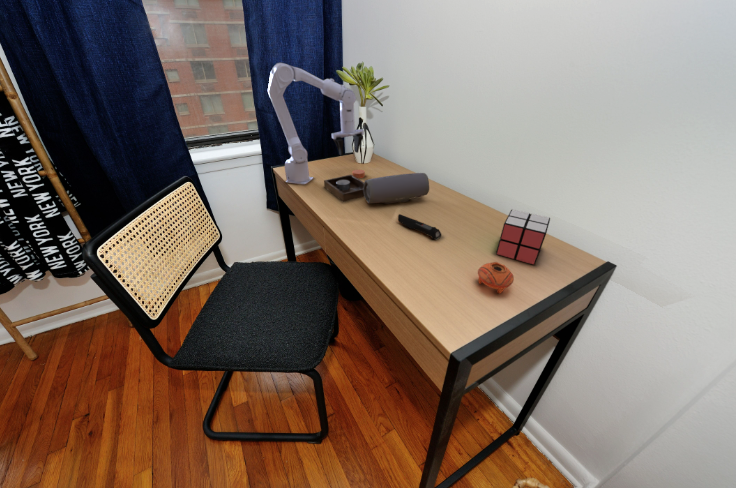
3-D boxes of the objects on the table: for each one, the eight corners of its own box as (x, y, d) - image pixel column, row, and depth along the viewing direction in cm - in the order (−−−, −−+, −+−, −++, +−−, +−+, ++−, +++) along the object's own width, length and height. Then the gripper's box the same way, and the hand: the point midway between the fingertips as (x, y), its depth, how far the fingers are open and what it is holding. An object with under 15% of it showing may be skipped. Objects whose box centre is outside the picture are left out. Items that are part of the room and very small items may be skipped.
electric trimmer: (402, 220, 103) (402, 211, 101) (441, 236, 94) (443, 227, 92) (395, 224, 101) (395, 215, 99) (434, 241, 92) (435, 232, 90)
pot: (482, 269, 79) (494, 250, 75) (509, 289, 76) (523, 270, 71) (466, 282, 74) (477, 263, 70) (494, 304, 71) (508, 285, 66)
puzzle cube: (534, 266, 81) (546, 233, 76) (495, 254, 85) (503, 223, 80) (539, 248, 88) (550, 217, 83) (503, 238, 93) (511, 208, 87)
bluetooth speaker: (417, 192, 122) (419, 168, 116) (428, 202, 114) (431, 176, 109) (363, 200, 116) (362, 174, 111) (370, 210, 109) (370, 184, 103)
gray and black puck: (334, 189, 124) (334, 183, 123) (339, 184, 128) (339, 179, 127) (347, 191, 123) (346, 185, 121) (352, 186, 127) (351, 180, 126)
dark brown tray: (324, 188, 126) (323, 180, 125) (351, 182, 132) (351, 174, 130) (343, 202, 114) (342, 194, 113) (372, 195, 120) (372, 187, 118)
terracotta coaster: (350, 178, 136) (350, 172, 134) (355, 174, 140) (354, 168, 139) (362, 179, 134) (362, 174, 133) (366, 175, 139) (366, 170, 137)
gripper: (336, 124, 122) (338, 158, 129) (367, 120, 128) (367, 153, 135) (328, 121, 127) (330, 154, 134) (358, 117, 133) (359, 149, 140)
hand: (348, 153), depth 135 cm, fingers open, 7 cm apart
